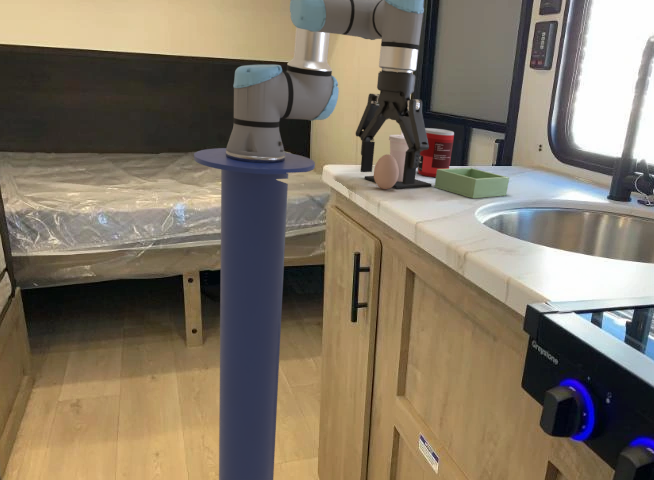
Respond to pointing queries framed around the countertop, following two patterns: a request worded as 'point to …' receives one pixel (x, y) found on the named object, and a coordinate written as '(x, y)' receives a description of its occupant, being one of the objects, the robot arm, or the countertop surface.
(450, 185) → the bin
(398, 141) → the smoothie
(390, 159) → the egg
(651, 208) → the countertop surface
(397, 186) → the drinks pad
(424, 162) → the canned food
